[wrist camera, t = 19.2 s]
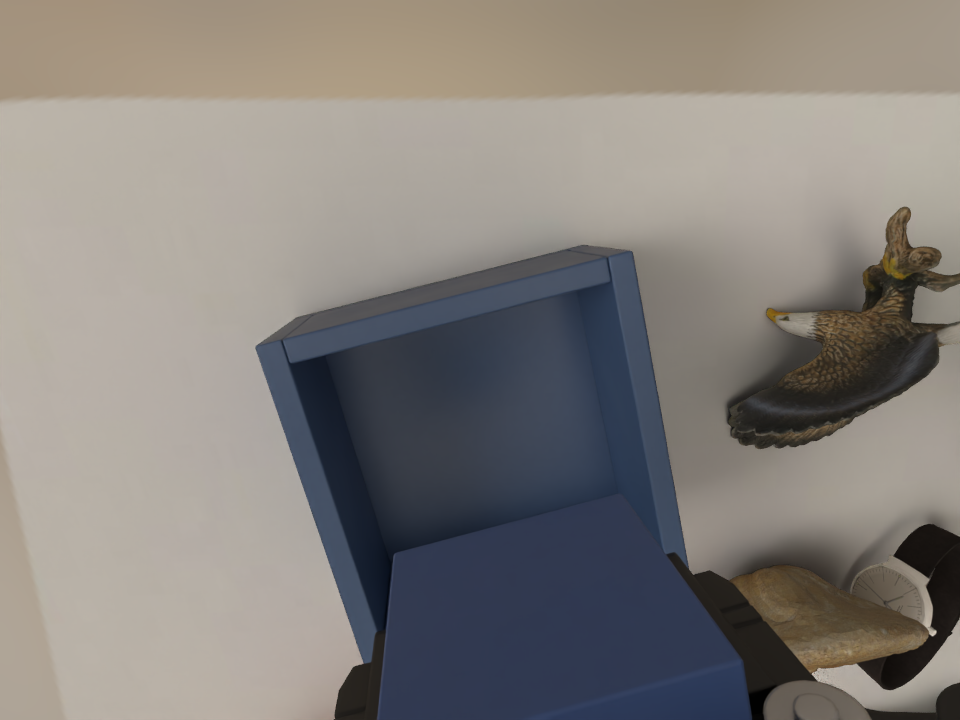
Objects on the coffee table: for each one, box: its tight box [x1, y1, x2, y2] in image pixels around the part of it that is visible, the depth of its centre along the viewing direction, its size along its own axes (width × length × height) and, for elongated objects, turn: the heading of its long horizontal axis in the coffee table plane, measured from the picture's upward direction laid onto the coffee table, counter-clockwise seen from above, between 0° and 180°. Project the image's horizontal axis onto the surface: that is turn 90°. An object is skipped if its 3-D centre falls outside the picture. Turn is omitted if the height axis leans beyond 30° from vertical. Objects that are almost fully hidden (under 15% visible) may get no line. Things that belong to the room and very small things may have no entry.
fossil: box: [729, 565, 929, 674], centre depth 25 cm, size 9×4×10 cm
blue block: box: [377, 494, 752, 720], centre depth 10 cm, size 5×5×5 cm
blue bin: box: [256, 245, 689, 664], centre depth 22 cm, size 12×12×6 cm
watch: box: [850, 524, 960, 690], centre depth 26 cm, size 8×5×4 cm, turn 161°
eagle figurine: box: [728, 207, 960, 449], centre depth 22 cm, size 8×7×9 cm
